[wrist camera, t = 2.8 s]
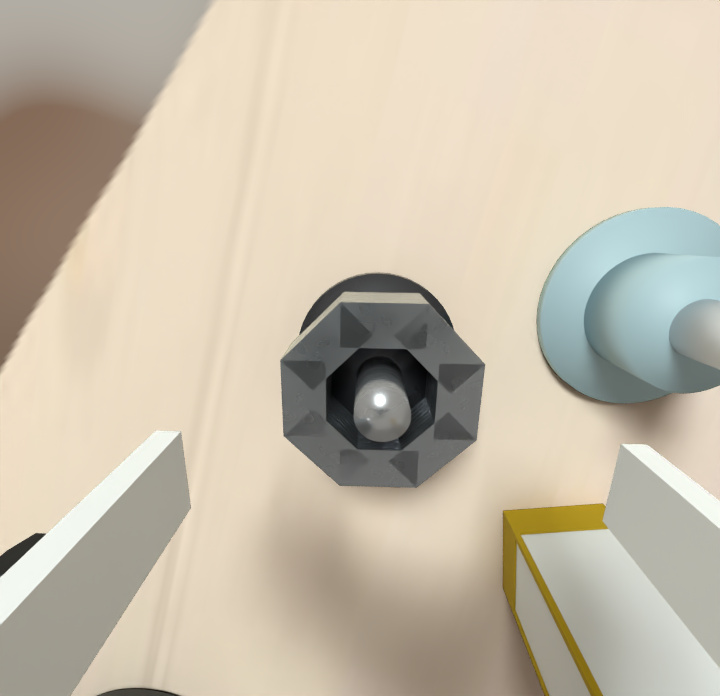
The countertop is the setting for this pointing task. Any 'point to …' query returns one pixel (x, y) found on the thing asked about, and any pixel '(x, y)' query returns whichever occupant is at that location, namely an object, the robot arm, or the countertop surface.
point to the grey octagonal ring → (428, 418)
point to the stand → (378, 365)
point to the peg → (636, 307)
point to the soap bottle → (595, 611)
